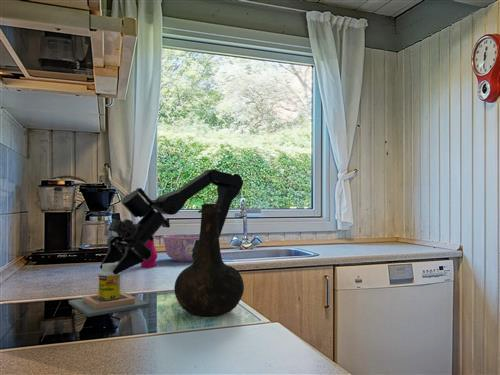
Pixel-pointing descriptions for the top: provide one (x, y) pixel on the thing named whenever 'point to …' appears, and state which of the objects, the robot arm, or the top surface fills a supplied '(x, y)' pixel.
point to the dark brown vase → (209, 274)
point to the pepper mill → (152, 259)
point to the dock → (107, 304)
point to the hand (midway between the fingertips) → (107, 270)
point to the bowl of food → (180, 246)
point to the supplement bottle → (109, 283)
